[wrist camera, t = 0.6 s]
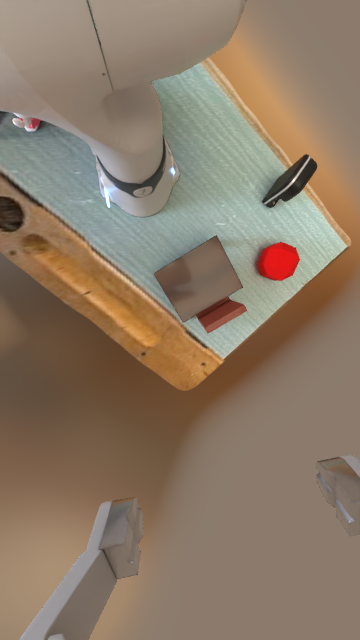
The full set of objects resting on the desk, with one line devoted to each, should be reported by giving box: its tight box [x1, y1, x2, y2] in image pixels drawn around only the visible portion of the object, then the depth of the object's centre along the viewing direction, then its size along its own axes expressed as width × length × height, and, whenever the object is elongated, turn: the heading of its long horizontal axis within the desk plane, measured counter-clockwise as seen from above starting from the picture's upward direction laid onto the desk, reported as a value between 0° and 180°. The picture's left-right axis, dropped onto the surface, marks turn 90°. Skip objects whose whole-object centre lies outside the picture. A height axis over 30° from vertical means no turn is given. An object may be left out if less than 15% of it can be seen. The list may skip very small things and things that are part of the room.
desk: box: [154, 235, 243, 322], centre depth 49 cm, size 13×16×8 cm
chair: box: [196, 296, 247, 333], centre depth 46 cm, size 10×9×15 cm
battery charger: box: [262, 154, 317, 208], centre depth 44 cm, size 7×4×11 cm, turn 146°
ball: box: [257, 242, 300, 281], centre depth 50 cm, size 8×8×8 cm
